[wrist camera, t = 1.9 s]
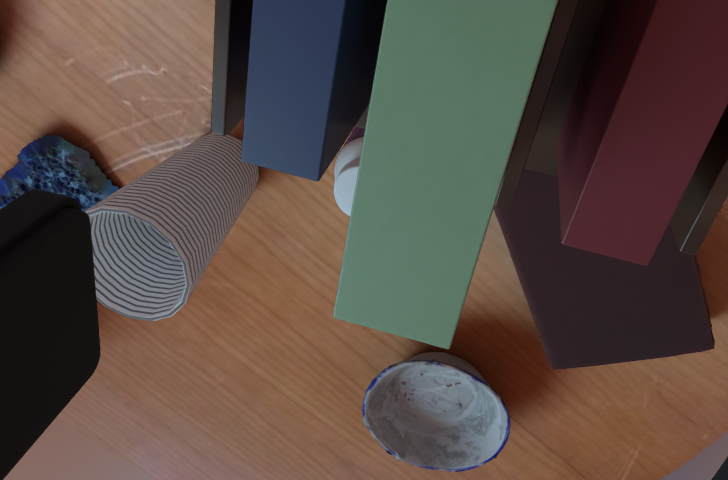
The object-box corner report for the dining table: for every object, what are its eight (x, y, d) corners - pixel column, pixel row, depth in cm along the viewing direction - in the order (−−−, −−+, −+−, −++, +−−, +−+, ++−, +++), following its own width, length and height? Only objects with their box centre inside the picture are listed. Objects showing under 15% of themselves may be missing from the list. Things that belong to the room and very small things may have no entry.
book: (548, 349, 56) (549, 375, 53) (479, 148, 48) (475, 166, 45) (709, 323, 51) (719, 349, 49) (661, 95, 43) (669, 112, 41)
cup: (177, 196, 57) (69, 301, 44) (179, 104, 52) (59, 191, 39) (269, 222, 56) (188, 337, 43) (280, 131, 51) (192, 229, 38)
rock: (55, 116, 55) (41, 125, 53) (200, 259, 60) (190, 271, 58) (-21, 201, 62) (-36, 211, 61) (113, 323, 67) (103, 335, 66)
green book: (473, -121, 24) (399, -79, 11) (556, -105, 24) (572, -42, 11) (422, 111, 29) (331, 318, 16) (490, 127, 29) (450, 350, 16)
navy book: (343, -145, 24) (262, -139, 17) (415, -130, 24) (363, -117, 17) (312, 84, 29) (240, 161, 22) (372, 99, 29) (318, 182, 22)
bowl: (490, 449, 64) (486, 490, 60) (363, 411, 65) (351, 449, 61) (530, 353, 57) (529, 392, 53) (387, 312, 58) (375, 348, 54)
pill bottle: (343, 135, 50) (305, 191, 42) (389, 87, 47) (358, 138, 39) (394, 182, 51) (366, 245, 43) (442, 138, 49) (422, 197, 40)
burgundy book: (636, -86, 23) (677, -53, 16) (716, -69, 23) (793, -29, 16) (556, 143, 28) (560, 244, 21) (621, 159, 28) (648, 267, 21)
